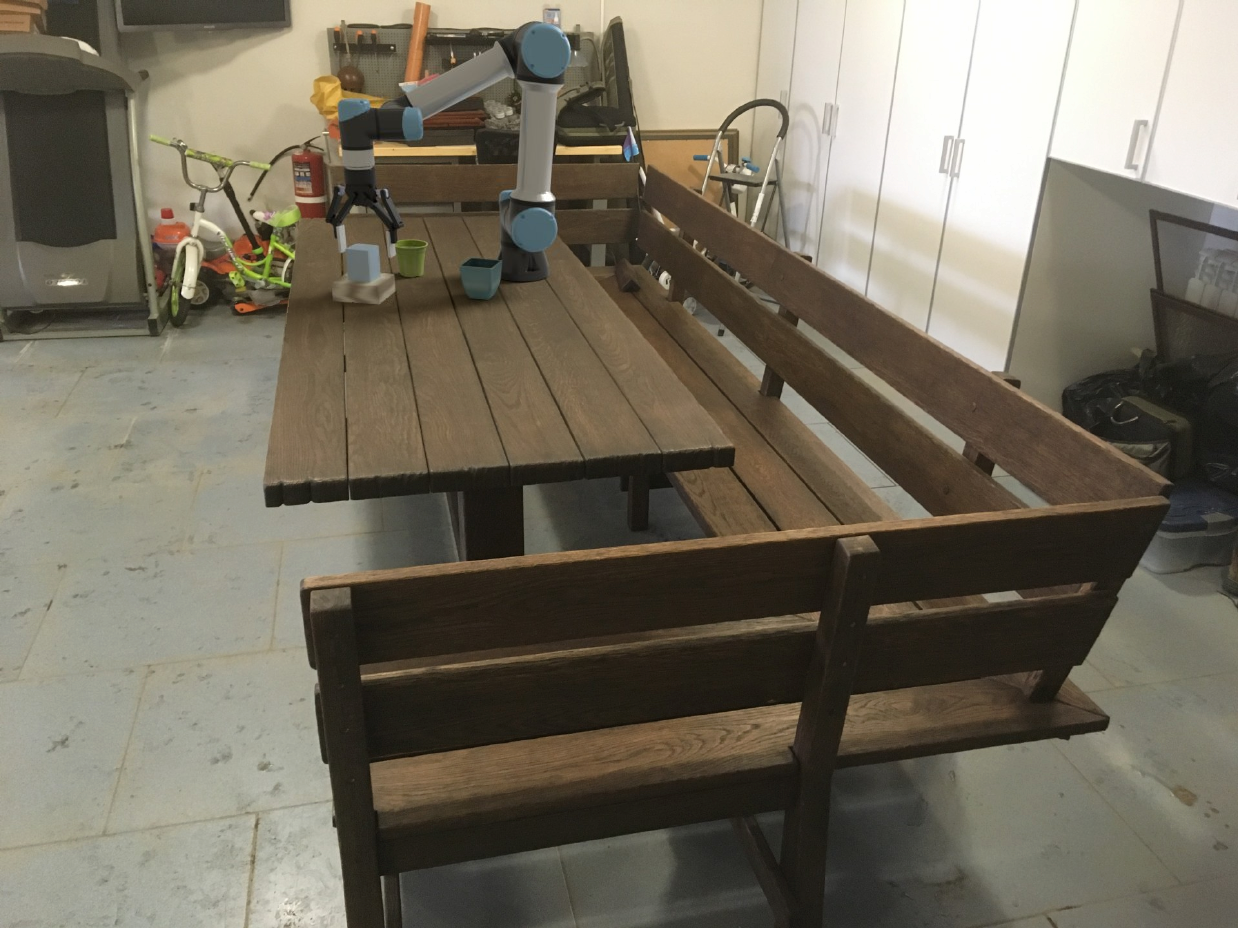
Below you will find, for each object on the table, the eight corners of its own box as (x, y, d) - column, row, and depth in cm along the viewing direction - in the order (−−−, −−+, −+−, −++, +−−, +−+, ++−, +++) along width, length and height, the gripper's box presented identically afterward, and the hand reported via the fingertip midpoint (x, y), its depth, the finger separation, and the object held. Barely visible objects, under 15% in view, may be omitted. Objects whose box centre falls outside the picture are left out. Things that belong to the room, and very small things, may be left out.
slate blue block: (380, 276, 252) (378, 245, 249) (370, 282, 247) (367, 251, 244) (359, 274, 254) (356, 243, 250) (348, 280, 248) (345, 248, 245)
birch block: (395, 292, 257) (394, 274, 255) (379, 306, 246) (377, 286, 244) (351, 289, 259) (349, 271, 256) (333, 302, 248) (331, 283, 246)
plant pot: (433, 271, 275) (431, 240, 272) (424, 280, 267) (422, 248, 263) (400, 269, 276) (398, 238, 272) (390, 278, 268) (388, 246, 264)
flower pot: (493, 303, 250) (492, 268, 246) (459, 300, 251) (458, 265, 247) (503, 294, 258) (502, 259, 254) (471, 291, 259) (470, 257, 255)
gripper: (413, 167, 239) (419, 254, 248) (321, 161, 245) (330, 246, 254) (399, 172, 233) (405, 261, 242) (304, 166, 238) (314, 253, 248)
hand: (367, 254), depth 248 cm, fingers open, 13 cm apart
